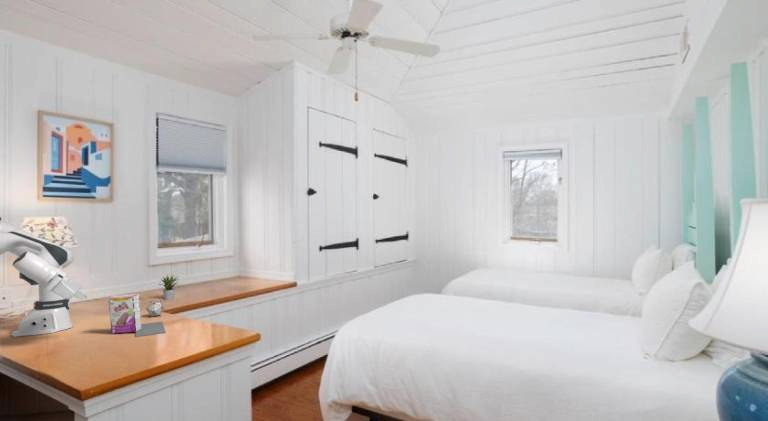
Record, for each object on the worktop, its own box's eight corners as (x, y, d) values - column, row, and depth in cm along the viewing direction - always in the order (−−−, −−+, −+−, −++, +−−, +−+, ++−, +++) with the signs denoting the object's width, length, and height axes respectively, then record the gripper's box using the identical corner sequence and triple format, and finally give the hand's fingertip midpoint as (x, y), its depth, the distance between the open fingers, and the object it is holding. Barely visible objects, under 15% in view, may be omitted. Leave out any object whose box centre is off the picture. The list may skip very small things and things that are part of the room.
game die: (156, 324, 226) (154, 311, 220) (143, 318, 227) (140, 305, 222) (169, 312, 233) (167, 299, 227) (156, 306, 234) (153, 293, 229)
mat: (135, 337, 186) (135, 336, 186) (135, 325, 207) (135, 324, 207) (165, 332, 192) (165, 331, 192) (162, 322, 213) (162, 321, 213)
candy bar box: (110, 334, 192) (107, 298, 192) (117, 331, 197) (114, 295, 197) (136, 332, 193) (133, 295, 192) (142, 329, 198) (139, 293, 197)
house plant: (181, 300, 272) (180, 274, 273) (156, 302, 267) (156, 276, 267) (182, 296, 286) (182, 271, 286) (159, 298, 280) (158, 273, 281)
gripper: (54, 283, 190) (82, 301, 195) (44, 290, 172) (76, 309, 177) (65, 271, 192) (93, 289, 197) (57, 277, 174) (88, 297, 179)
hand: (85, 299), depth 187 cm, fingers closed
